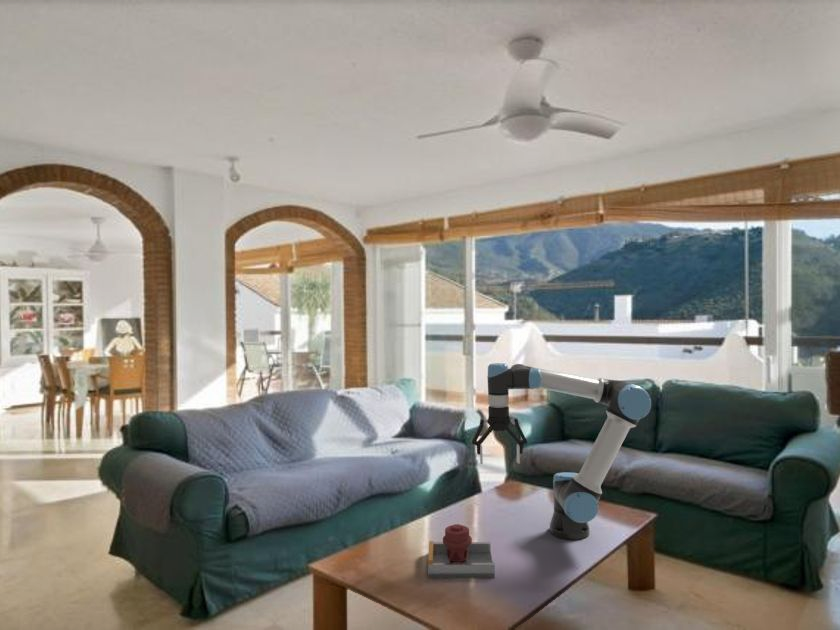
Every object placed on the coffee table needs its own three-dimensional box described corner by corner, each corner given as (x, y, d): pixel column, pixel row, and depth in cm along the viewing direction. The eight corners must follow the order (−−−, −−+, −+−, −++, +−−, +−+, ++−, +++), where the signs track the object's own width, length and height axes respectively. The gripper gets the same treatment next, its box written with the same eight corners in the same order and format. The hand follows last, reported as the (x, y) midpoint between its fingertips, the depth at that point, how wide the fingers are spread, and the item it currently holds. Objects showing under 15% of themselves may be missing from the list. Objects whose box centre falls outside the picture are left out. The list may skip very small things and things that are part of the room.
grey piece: (490, 552, 207) (490, 538, 206) (495, 578, 188) (494, 562, 188) (429, 553, 208) (429, 538, 207) (428, 578, 189) (428, 562, 188)
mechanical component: (473, 556, 202) (470, 569, 192) (445, 554, 203) (441, 567, 194) (472, 521, 201) (469, 532, 191) (444, 520, 203) (440, 531, 193)
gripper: (530, 403, 213) (532, 459, 213) (464, 404, 214) (465, 460, 214) (534, 406, 206) (535, 465, 206) (465, 408, 206) (466, 466, 207)
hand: (499, 462), depth 210 cm, fingers open, 13 cm apart
